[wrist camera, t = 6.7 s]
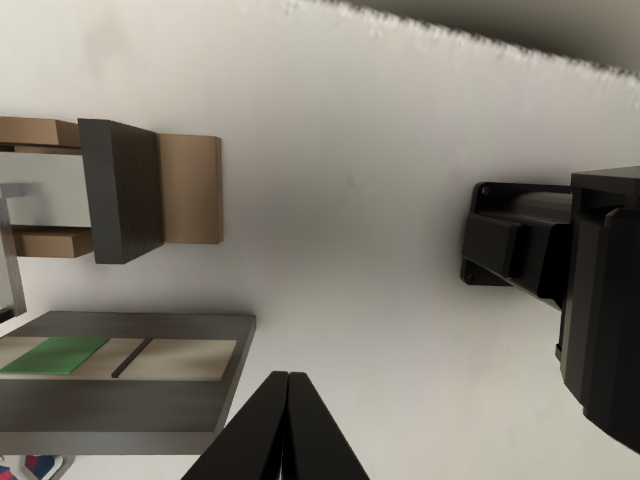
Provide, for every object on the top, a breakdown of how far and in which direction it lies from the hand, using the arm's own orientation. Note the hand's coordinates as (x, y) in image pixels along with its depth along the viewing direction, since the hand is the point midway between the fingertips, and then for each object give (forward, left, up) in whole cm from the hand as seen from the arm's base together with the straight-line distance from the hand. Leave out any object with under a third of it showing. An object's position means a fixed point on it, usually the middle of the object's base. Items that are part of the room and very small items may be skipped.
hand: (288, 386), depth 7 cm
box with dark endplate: (+11, -3, -10) cm, 15 cm away
